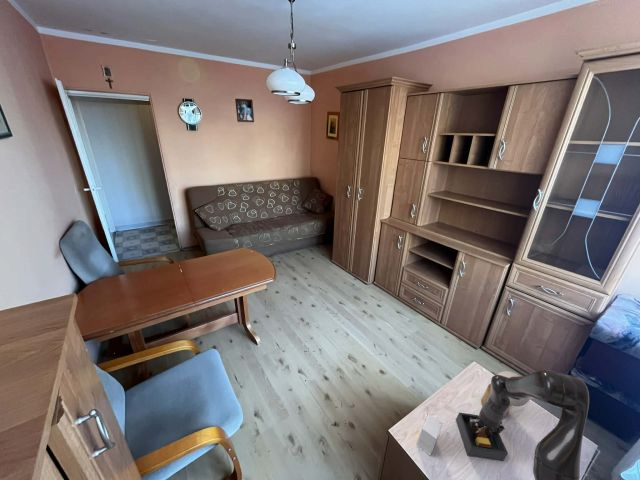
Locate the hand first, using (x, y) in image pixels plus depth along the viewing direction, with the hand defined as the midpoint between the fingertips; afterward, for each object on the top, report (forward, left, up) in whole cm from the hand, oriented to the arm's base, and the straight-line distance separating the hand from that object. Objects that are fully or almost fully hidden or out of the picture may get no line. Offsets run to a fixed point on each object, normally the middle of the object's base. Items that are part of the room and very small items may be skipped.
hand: (479, 436), depth 117 cm
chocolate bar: (0, 0, -1) cm, 1 cm away
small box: (-5, +24, -3) cm, 25 cm away
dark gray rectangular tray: (0, 0, -3) cm, 3 cm away
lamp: (+15, -15, -3) cm, 21 cm away
